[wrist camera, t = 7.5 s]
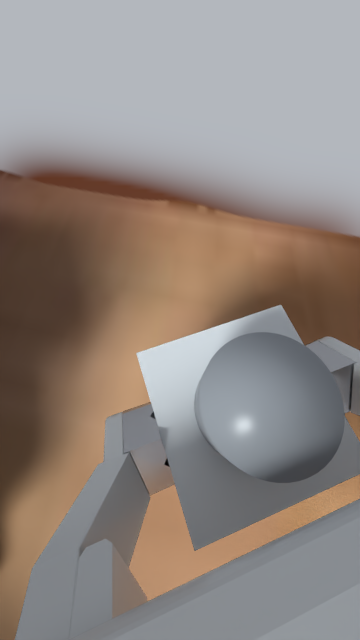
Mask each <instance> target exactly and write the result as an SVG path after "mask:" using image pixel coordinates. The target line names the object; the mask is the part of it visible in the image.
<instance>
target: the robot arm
mask: <svg viewBox="0 0 360 640" xmlns="http://www.w3.org/2000/svg"><path fill="white" fill-rule="evenodd" d="M304 346H306V347H307V348H309V349H310V350H311V351H313V352H314V353H315V354H316V355H317V356H318V357H319V358H320V359H321V360H322V361H323V363H324V364H325V365H326V366H327V367H328V369H329V370H330V372H331V373H332V375H333V377H334V379H335V381H336V383H337V385H338V387H339V390H340V393H341V396H342V400H343V405H344V412H345V413H346V412H349V411H351V413H354V414H356V415H359V416H360V351H359V350H357V349H355V348H353V347H351V346H349V345H347V344H345V343H343V342H341V341H339V340H337V339H335V338H333V337H328V336H326V337H324V338H321V339H319V340H316V341H314V342H312V343H309V344H307V345H304ZM174 484H175V483H174V479H173V476H172V472H171V469H170V466H169V462H168V459H167V455H166V452H165V448H164V444H163V441H162V438H161V434H160V431H159V427H158V425H157V421H156V418H155V415H154V411H153V408H152V404H151V402H149V403H146V404H143V405H140V406H137V407H134V408H131V409H128V410H125V411H123V412H120V413H117V414H114V415H112V416H109V417H107V419H106V421H105V442H104V462H103V463H100V464H98V466H97V467H96V469H95V470H94V472H93V473H92V475H91V477H90V478H89V480H88V481H87V483H86V485H85V486H84V488H83V489H82V491H81V492H80V494H79V496H78V497H77V499H76V500H75V502H74V503H73V505H72V507H71V508H70V510H69V511H68V513H67V514H66V516H65V518H64V519H63V521H62V522H61V524H60V525H59V527H58V529H57V530H56V532H55V533H54V535H53V536H52V538H51V540H50V541H49V543H48V544H47V546H46V547H45V549H44V551H43V552H42V554H41V555H40V557H39V558H38V560H37V562H36V563H35V565H34V566H33V568H32V572H31V576H30V580H29V584H28V588H27V592H26V596H25V600H24V604H23V608H22V612H21V617H20V621H19V625H18V629H17V633H16V637H15V640H360V499H358V500H356V501H354V502H352V503H350V504H348V505H346V506H344V507H342V508H340V509H338V510H335V511H333V512H331V513H329V514H327V515H325V516H323V517H321V518H319V519H317V520H315V521H313V522H311V523H309V524H307V525H304V526H302V527H300V528H298V529H296V530H294V531H292V532H290V533H288V534H286V535H284V536H282V537H280V538H278V539H276V540H273V541H271V542H269V543H267V544H265V545H263V546H261V547H259V548H257V549H255V550H253V551H251V552H249V553H247V554H245V555H242V556H240V557H238V558H236V559H234V560H232V561H230V562H228V563H226V564H224V565H222V566H220V567H218V568H216V569H214V570H211V571H209V572H207V573H205V574H203V575H201V576H199V577H197V578H195V579H193V580H191V581H189V582H187V583H185V584H183V585H180V586H178V587H176V588H174V589H172V590H170V591H168V592H166V593H164V594H162V595H160V596H158V597H156V598H154V599H152V600H150V601H147V597H146V595H145V593H144V592H143V590H142V589H141V587H140V586H139V584H138V582H137V581H136V579H135V578H134V576H133V575H132V573H131V572H130V570H129V565H130V561H131V558H132V555H133V552H134V548H135V545H136V542H137V539H138V536H139V532H140V529H141V526H142V523H143V519H144V516H145V513H146V510H147V506H148V503H149V500H150V495H152V494H155V493H157V492H159V491H161V490H163V489H166V488H168V487H170V486H172V485H174Z"/></svg>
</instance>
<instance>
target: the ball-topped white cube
mask: <svg viewBox="0 0 360 640" xmlns="http://www.w3.org/2000/svg"><path fill="white" fill-rule="evenodd" d="M136 354H137V357H138V360H139V364H140V367H141V370H142V374H143V377H144V381H145V384H146V387H147V391H148V394H149V398H150V401H151V404H152V408H153V411H154V415H155V418H156V421H157V425H158V427H159V431H160V434H161V438H162V441H163V444H164V448H165V452H166V455H167V459H168V462H169V466H170V469H171V472H172V476H173V479H174V483H175V486H176V489H177V493H178V496H179V500H180V503H181V506H182V510H183V513H184V517H185V520H186V523H187V527H188V530H189V534H190V537H191V540H192V544H193V547H194V550H195V551H196V550H198V549H200V548H202V547H204V546H206V545H208V544H211V543H213V542H215V541H217V540H219V539H221V538H224V537H226V536H228V535H230V534H232V533H234V532H236V531H239V530H241V529H243V528H245V527H247V526H249V525H251V524H254V523H256V522H258V521H260V520H262V519H264V518H266V517H269V516H271V515H273V514H275V513H277V512H279V511H281V510H284V509H286V508H288V507H290V506H292V505H294V504H297V503H299V502H301V501H303V500H305V499H307V498H309V497H312V496H314V495H316V494H318V493H320V492H322V491H324V490H327V489H329V488H331V487H333V486H335V485H337V484H339V483H342V482H344V481H346V480H348V479H350V478H352V477H355V476H357V475H359V474H360V442H359V440H358V438H357V437H356V435H355V433H354V431H353V430H352V428H351V426H350V424H349V423H348V421H347V419H346V417H345V412H344V405H343V400H342V396H341V393H340V390H339V387H338V385H337V383H336V381H335V379H334V377H333V375H332V373H331V372H330V370H329V369H328V367H327V366H326V365H325V364H324V363H323V361H322V360H321V359H320V358H319V357H318V356H317V355H316V354H315V353H314V352H313V351H311V350H310V349H309V348H307V347H306V346H304V344H303V342H302V340H301V339H300V337H299V335H298V333H297V332H296V330H295V328H294V326H293V325H292V323H291V321H290V319H289V318H288V316H287V314H286V312H285V311H284V309H283V307H282V305H278V306H275V307H272V308H269V309H266V310H263V311H260V312H257V313H254V314H252V315H249V316H246V317H243V318H240V319H237V320H234V321H231V322H228V323H225V324H222V325H219V326H216V327H213V328H210V329H207V330H204V331H201V332H198V333H195V334H192V335H189V336H186V337H183V338H180V339H177V340H174V341H171V342H168V343H165V344H162V345H159V346H156V347H153V348H150V349H147V350H144V351H141V352H138V353H136Z"/></svg>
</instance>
